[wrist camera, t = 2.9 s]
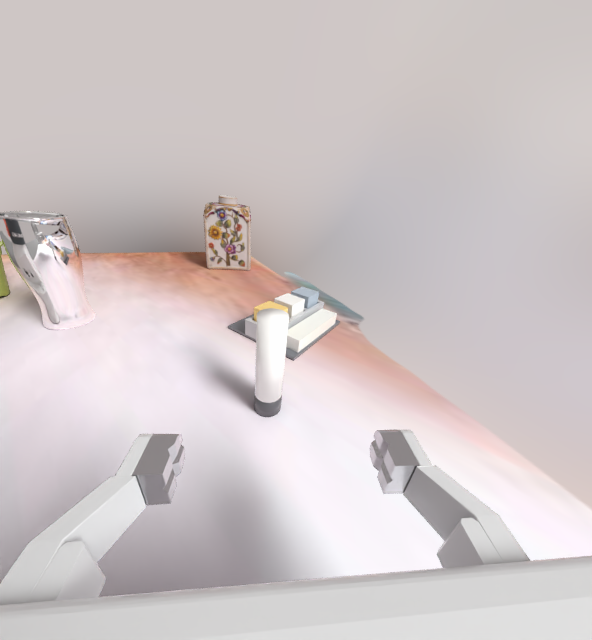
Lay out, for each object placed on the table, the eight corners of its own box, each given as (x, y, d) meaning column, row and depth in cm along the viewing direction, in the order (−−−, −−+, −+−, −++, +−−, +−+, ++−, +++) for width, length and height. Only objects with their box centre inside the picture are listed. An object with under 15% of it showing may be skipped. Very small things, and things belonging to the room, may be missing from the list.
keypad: (228, 328, 40) (227, 311, 39) (283, 302, 51) (284, 288, 50) (293, 360, 34) (295, 342, 33) (339, 323, 45) (342, 308, 44)
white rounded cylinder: (248, 407, 26) (249, 315, 21) (266, 393, 28) (270, 305, 23) (269, 421, 25) (275, 326, 20) (285, 405, 27) (295, 315, 22)
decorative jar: (211, 258, 76) (207, 193, 68) (249, 260, 78) (250, 197, 70) (206, 269, 66) (200, 194, 57) (250, 271, 68) (251, 199, 60)
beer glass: (87, 306, 42) (56, 210, 35) (108, 319, 39) (78, 217, 32) (32, 320, 36) (-18, 210, 30) (50, 337, 33) (-1, 219, 26)
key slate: (290, 306, 45) (291, 291, 44) (300, 301, 48) (302, 286, 46) (306, 313, 43) (308, 297, 42) (316, 307, 46) (319, 292, 45)
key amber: (253, 325, 38) (254, 307, 36) (268, 317, 40) (269, 300, 39) (272, 333, 36) (273, 315, 35) (286, 325, 39) (288, 307, 37)
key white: (273, 315, 41) (274, 298, 40) (286, 308, 44) (287, 293, 43) (290, 322, 40) (292, 305, 38) (302, 315, 42) (304, 299, 41)
